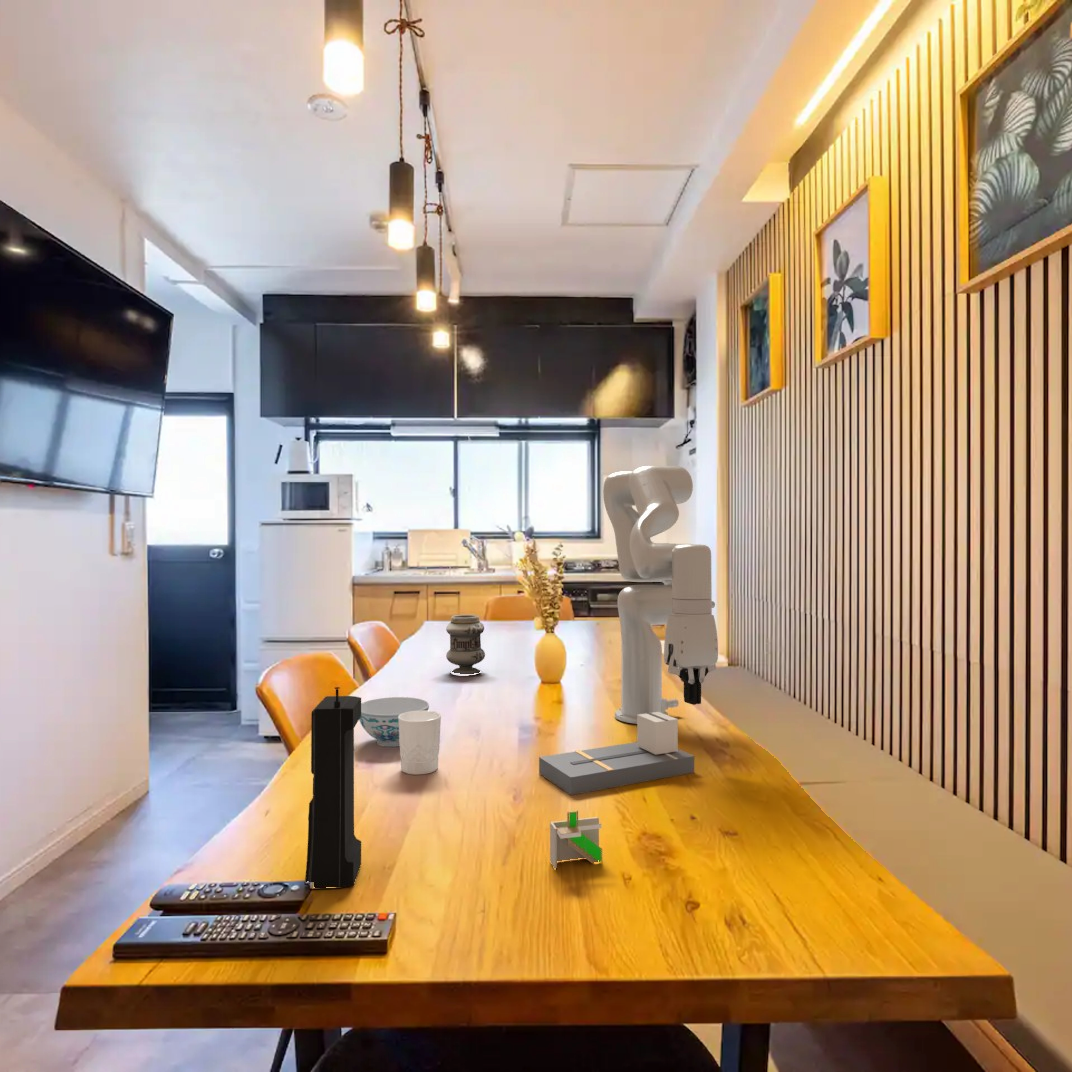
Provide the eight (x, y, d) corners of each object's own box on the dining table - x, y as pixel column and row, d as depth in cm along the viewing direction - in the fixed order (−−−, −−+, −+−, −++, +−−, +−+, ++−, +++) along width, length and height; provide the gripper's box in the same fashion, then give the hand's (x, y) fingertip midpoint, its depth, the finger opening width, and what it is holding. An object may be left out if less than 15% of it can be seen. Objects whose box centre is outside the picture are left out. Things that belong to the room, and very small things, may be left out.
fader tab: (658, 742, 140) (658, 711, 140) (677, 751, 134) (677, 718, 134) (637, 745, 138) (637, 714, 137) (655, 754, 132) (655, 721, 132)
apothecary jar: (451, 669, 230) (451, 613, 230) (488, 670, 228) (488, 613, 228) (441, 676, 218) (441, 617, 218) (480, 678, 216) (480, 618, 216)
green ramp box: (608, 873, 94) (608, 812, 94) (558, 880, 93) (558, 818, 92) (598, 860, 98) (598, 801, 98) (550, 866, 96) (550, 806, 96)
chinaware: (442, 736, 155) (442, 701, 155) (401, 757, 141) (401, 717, 141) (385, 728, 161) (385, 694, 161) (341, 747, 147) (341, 709, 147)
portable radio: (317, 861, 97) (317, 676, 96) (362, 859, 97) (362, 675, 97) (303, 890, 89) (303, 689, 89) (353, 888, 89) (352, 688, 89)
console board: (655, 754, 143) (655, 738, 143) (694, 772, 132) (694, 755, 132) (539, 773, 132) (539, 756, 132) (570, 795, 121) (570, 776, 121)
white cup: (448, 764, 136) (448, 712, 136) (428, 778, 129) (428, 722, 129) (411, 760, 139) (411, 708, 139) (390, 773, 132) (390, 719, 132)
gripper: (709, 605, 146) (710, 696, 145) (648, 608, 139) (649, 703, 139) (735, 608, 139) (735, 703, 139) (672, 611, 132) (672, 711, 132)
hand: (692, 702), depth 139 cm, fingers closed
